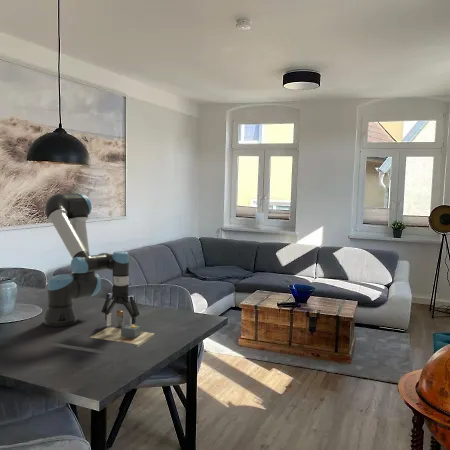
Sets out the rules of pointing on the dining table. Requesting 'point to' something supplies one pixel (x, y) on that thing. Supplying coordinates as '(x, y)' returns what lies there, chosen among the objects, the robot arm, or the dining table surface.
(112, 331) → the board
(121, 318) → the metal cylinder
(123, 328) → the block
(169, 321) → the dining table surface
